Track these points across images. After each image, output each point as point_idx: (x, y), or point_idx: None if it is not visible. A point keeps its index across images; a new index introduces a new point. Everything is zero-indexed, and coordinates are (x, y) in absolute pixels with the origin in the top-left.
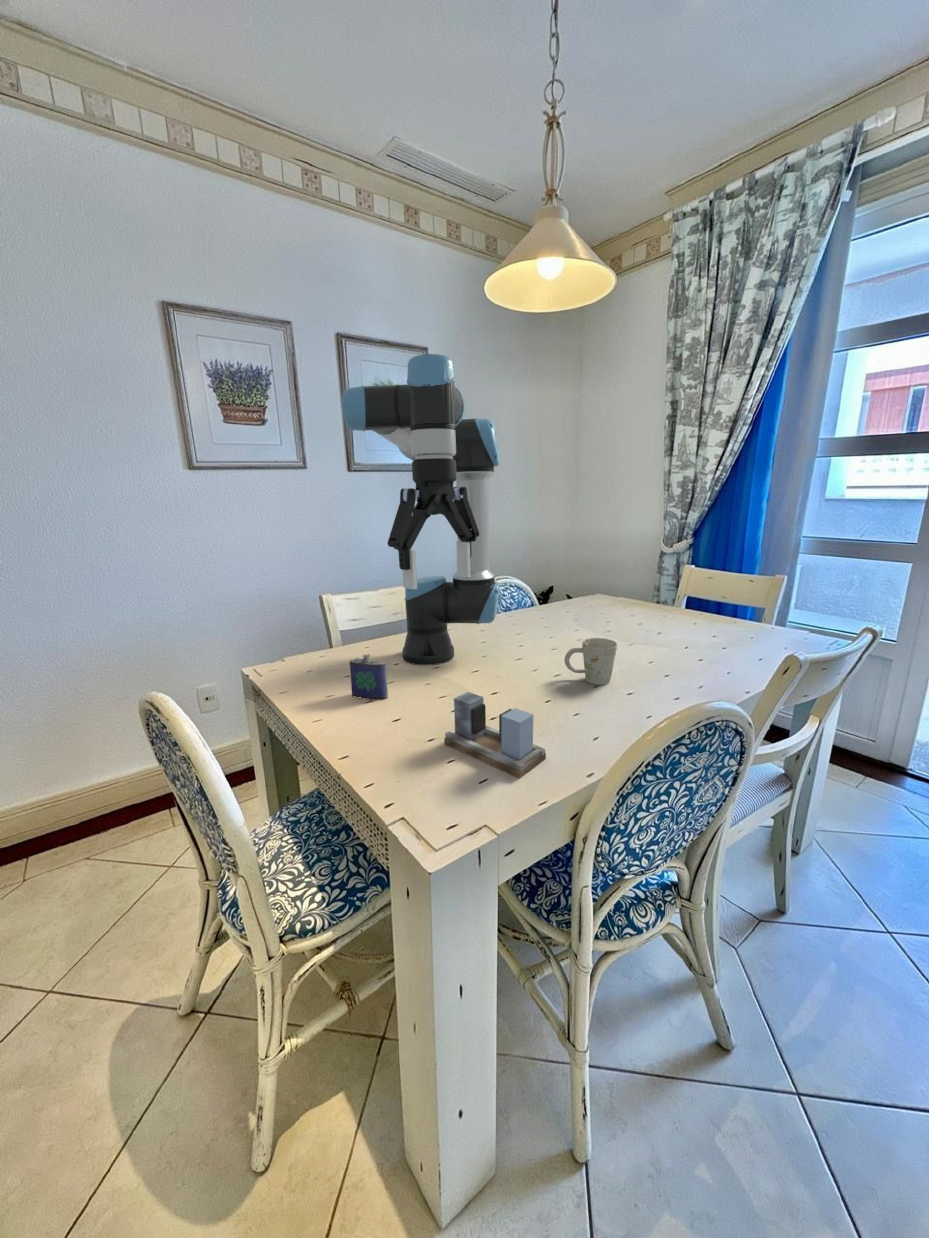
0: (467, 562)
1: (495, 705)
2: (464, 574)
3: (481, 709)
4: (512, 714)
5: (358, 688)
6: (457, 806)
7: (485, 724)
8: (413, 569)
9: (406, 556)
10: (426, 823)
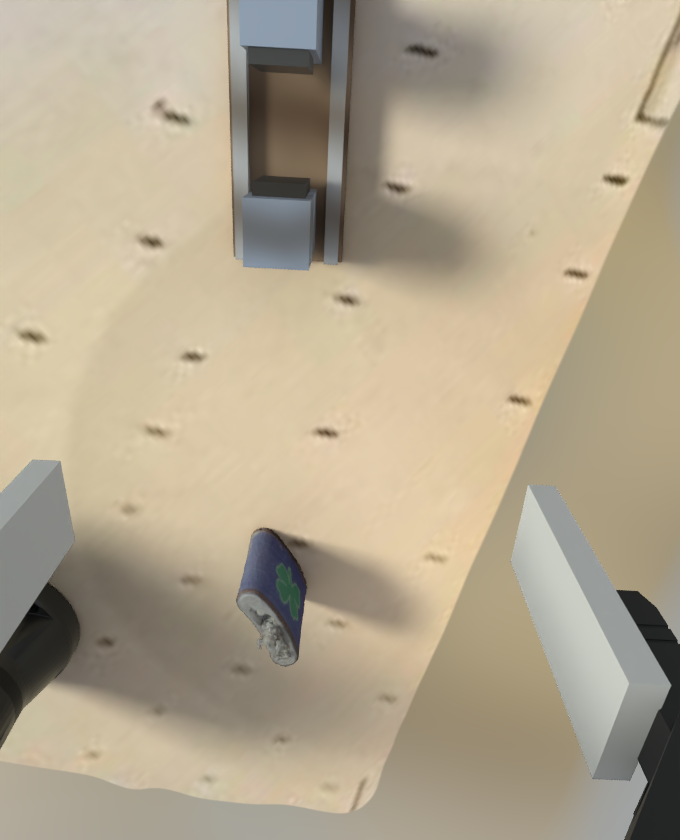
0: (7, 522)
1: (87, 286)
2: (57, 496)
3: (272, 181)
4: (284, 21)
5: (300, 590)
6: (544, 34)
7: (261, 176)
8: (596, 567)
9: (675, 669)
10: (631, 54)
